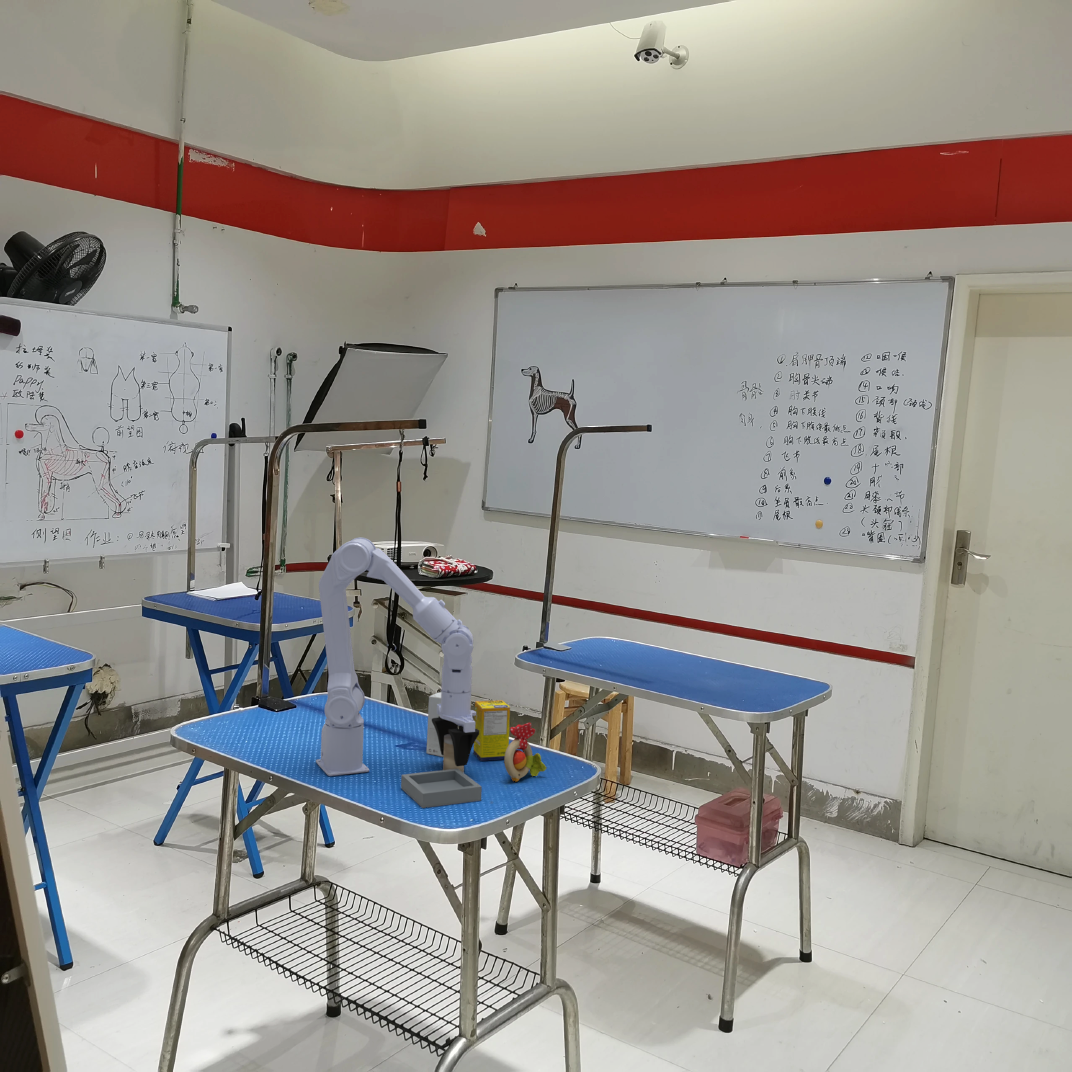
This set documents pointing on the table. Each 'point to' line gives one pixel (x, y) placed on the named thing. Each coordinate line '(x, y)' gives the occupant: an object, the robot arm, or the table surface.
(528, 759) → the bird rattle
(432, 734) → the skincare box
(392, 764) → the table surface
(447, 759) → the cylinder
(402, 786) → the tray
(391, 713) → the table surface
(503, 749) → the supplement box
